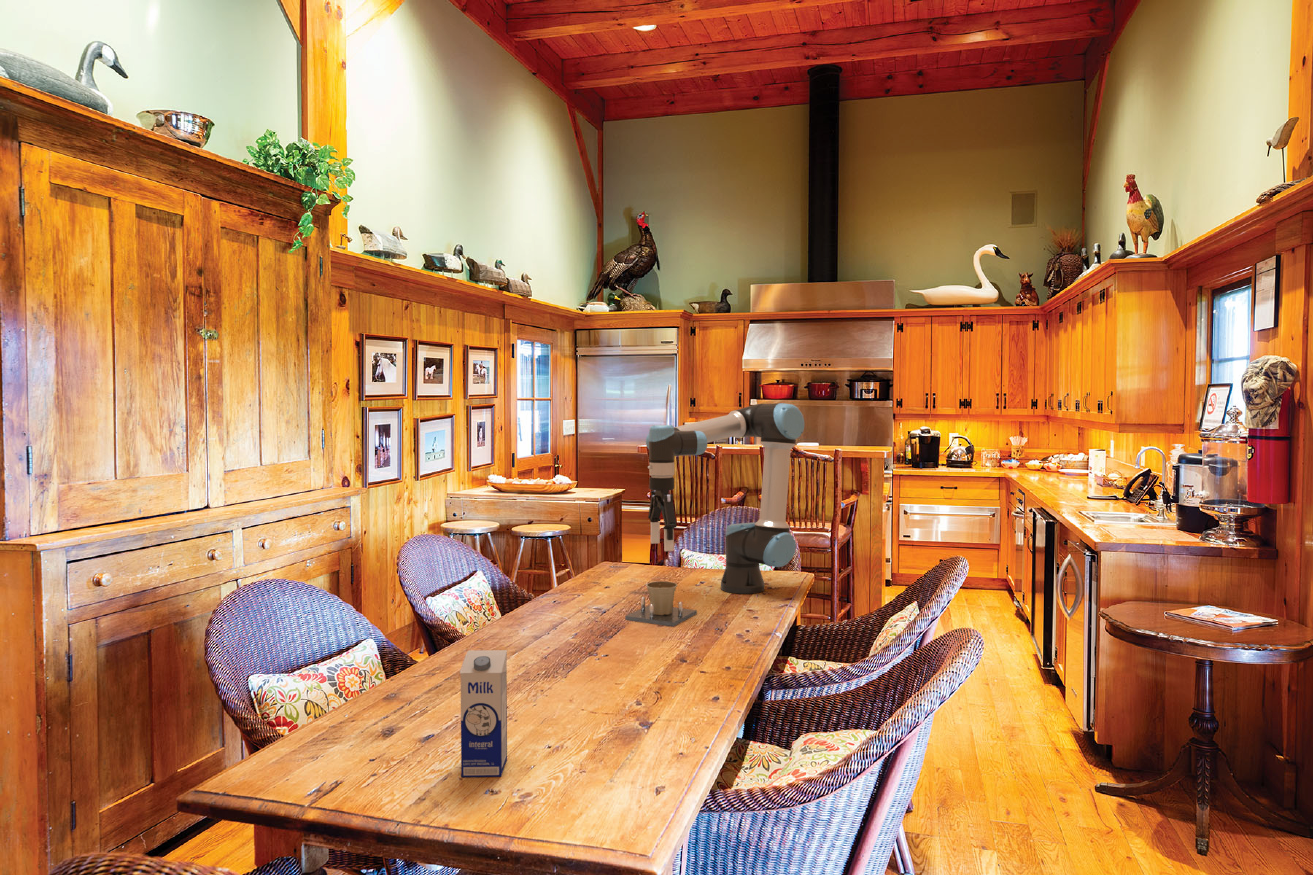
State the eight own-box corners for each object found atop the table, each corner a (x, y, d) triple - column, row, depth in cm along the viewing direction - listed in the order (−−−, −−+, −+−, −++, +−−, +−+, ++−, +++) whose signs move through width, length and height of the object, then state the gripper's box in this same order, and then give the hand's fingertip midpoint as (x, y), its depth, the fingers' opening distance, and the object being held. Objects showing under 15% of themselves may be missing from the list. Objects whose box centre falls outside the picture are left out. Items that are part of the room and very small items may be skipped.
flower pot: (677, 617, 234) (677, 588, 234) (645, 617, 235) (645, 588, 234) (677, 609, 244) (677, 581, 243) (646, 608, 244) (646, 581, 244)
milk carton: (508, 759, 142) (507, 648, 141) (502, 776, 135) (501, 660, 134) (468, 759, 142) (467, 649, 141) (460, 777, 135) (459, 661, 134)
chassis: (650, 607, 250) (650, 591, 250) (696, 614, 243) (696, 597, 242) (625, 619, 236) (625, 602, 236) (673, 626, 228) (673, 608, 228)
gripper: (638, 473, 249) (638, 540, 249) (662, 480, 225) (662, 554, 226) (661, 472, 251) (661, 539, 252) (687, 479, 227) (687, 553, 228)
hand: (661, 547), depth 239 cm, fingers open, 13 cm apart
